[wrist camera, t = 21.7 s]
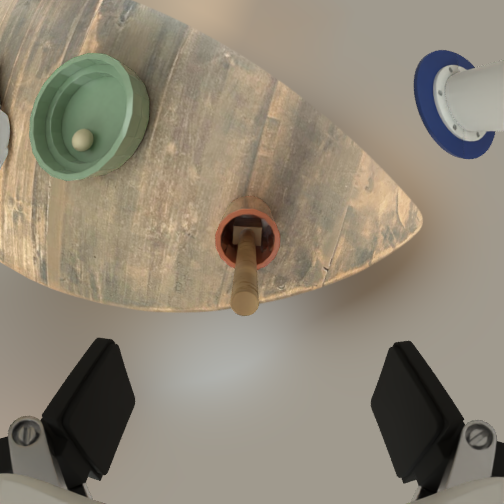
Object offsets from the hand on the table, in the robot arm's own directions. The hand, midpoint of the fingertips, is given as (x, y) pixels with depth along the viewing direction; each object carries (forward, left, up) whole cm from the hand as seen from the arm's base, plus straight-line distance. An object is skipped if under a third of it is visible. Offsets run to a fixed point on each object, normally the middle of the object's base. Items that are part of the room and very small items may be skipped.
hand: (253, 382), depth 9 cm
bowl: (+20, -14, -28) cm, 37 cm away
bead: (+22, -11, -26) cm, 35 cm away
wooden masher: (0, +1, -27) cm, 27 cm away
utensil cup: (0, 0, -28) cm, 28 cm away
